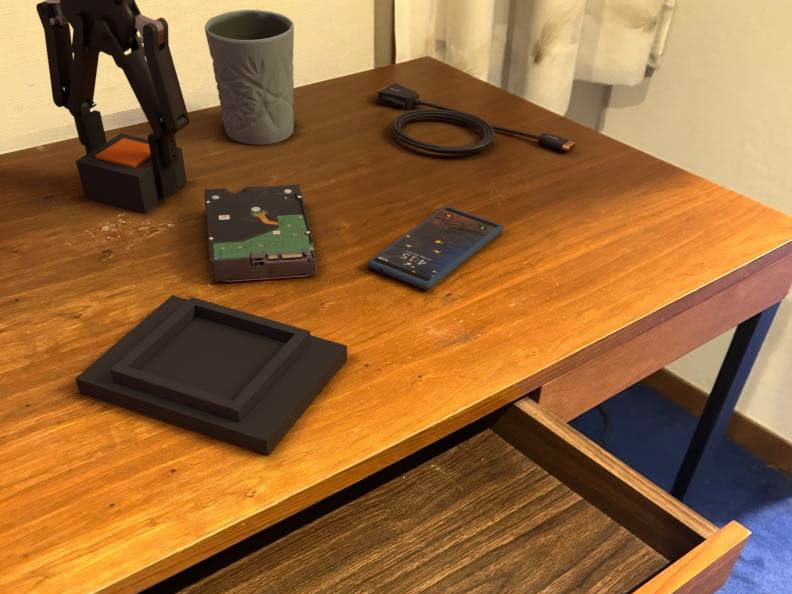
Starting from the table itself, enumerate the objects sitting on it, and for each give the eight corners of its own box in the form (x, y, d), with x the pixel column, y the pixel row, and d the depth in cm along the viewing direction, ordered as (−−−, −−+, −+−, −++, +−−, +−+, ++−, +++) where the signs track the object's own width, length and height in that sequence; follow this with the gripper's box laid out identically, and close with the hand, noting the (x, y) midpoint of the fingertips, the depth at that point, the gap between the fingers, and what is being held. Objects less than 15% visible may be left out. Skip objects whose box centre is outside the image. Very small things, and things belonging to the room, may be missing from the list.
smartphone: (505, 225, 91) (428, 285, 82) (504, 232, 92) (428, 293, 83) (445, 203, 94) (364, 260, 85) (444, 210, 94) (364, 268, 86)
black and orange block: (84, 197, 94) (74, 157, 91) (128, 168, 99) (120, 130, 96) (145, 213, 92) (137, 173, 89) (187, 183, 97) (181, 144, 94)
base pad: (79, 392, 71) (70, 366, 69) (174, 308, 80) (169, 283, 78) (268, 455, 67) (265, 429, 65) (347, 359, 76) (346, 333, 74)
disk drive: (205, 214, 93) (213, 285, 83) (201, 188, 91) (209, 258, 81) (301, 207, 94) (319, 277, 84) (299, 182, 92) (318, 250, 82)
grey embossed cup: (301, 115, 111) (295, 10, 102) (297, 149, 104) (291, 40, 95) (222, 113, 110) (209, 8, 101) (213, 147, 103) (199, 38, 94)
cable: (520, 189, 99) (521, 176, 98) (329, 124, 109) (328, 112, 108) (574, 150, 106) (577, 137, 105) (391, 92, 117) (391, 81, 116)
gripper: (205, -54, 78) (234, 190, 95) (22, -85, 83) (80, 151, 100) (158, -33, 73) (196, 219, 90) (-34, -68, 78) (37, 177, 95)
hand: (135, 183), depth 95 cm, fingers closed on black and orange block, 8 cm apart
